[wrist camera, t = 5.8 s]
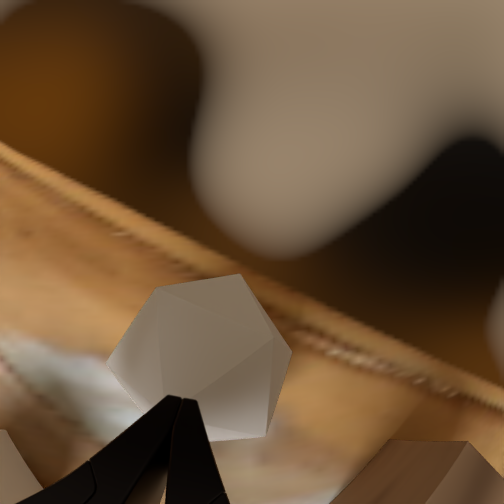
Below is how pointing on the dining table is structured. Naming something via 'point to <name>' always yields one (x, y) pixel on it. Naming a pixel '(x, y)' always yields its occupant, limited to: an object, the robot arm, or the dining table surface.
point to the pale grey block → (14, 473)
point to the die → (206, 355)
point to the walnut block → (425, 476)
